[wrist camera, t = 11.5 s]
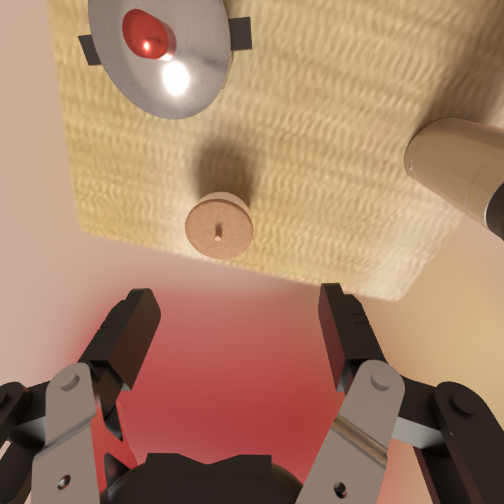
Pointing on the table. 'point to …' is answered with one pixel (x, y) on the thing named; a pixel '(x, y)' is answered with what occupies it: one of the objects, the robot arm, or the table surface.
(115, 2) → the lid
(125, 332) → the robot arm
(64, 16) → the table surface
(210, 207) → the lidded jar
